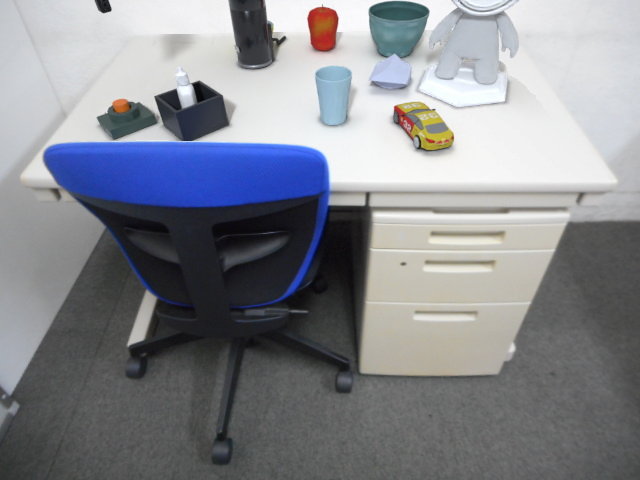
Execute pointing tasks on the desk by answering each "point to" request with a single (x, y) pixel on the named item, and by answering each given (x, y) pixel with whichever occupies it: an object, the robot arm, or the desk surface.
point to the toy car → (423, 125)
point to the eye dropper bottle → (185, 89)
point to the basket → (193, 112)
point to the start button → (121, 105)
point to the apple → (323, 27)
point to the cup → (333, 93)
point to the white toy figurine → (471, 54)
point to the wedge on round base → (391, 73)
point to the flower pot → (397, 26)
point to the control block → (126, 120)
